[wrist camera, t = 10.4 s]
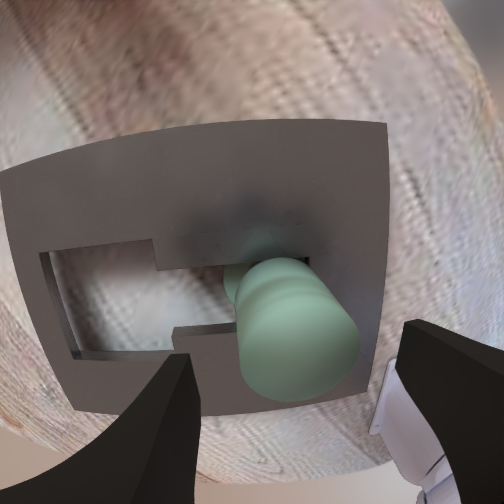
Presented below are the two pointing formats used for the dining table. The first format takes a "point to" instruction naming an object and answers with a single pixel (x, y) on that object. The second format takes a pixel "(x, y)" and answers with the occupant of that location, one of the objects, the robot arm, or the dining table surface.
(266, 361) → the peg
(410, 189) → the dining table surface
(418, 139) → the dining table surface
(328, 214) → the keyhole plate
